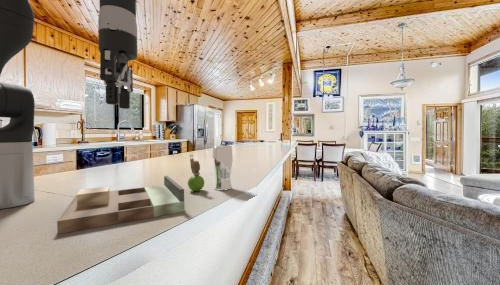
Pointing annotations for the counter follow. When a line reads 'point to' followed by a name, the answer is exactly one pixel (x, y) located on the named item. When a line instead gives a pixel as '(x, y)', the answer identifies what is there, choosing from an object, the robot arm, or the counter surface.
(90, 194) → the block
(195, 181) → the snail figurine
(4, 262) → the counter surface
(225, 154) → the beer glass
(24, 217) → the counter surface
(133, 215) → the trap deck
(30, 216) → the counter surface
